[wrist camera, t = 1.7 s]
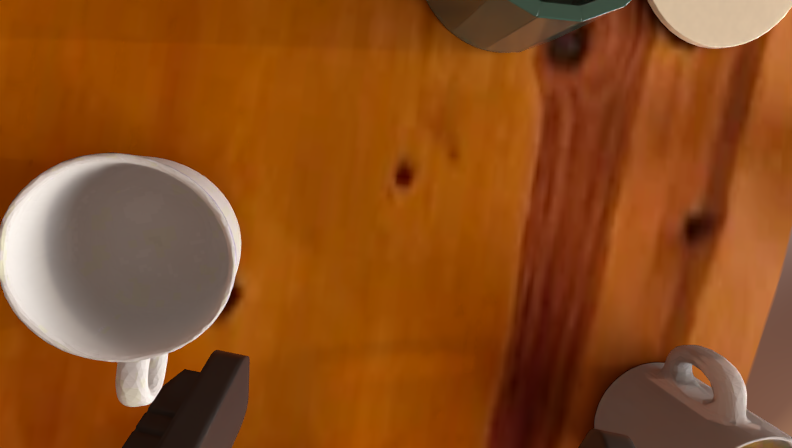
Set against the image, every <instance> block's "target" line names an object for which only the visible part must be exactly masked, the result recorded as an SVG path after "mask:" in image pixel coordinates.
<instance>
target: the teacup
mask: <svg viewBox="0 0 792 448" xmlns="http://www.w3.org/2000/svg"><path fill="white" fill-rule="evenodd" d="M240 254H241V236H240V229H239V225H238V221H237V218H236V216H235V214H234V211H233V209H232V207H231V205H230V204H229V202H228V200H227V199H226V198H225V196H224V195H223V194H222V192H221V191H220V190H219V189H218V188H217V187H216V186H215V185H214V184H213V183H212V182H211V181H209V180H208V179H207V178H206V177H204V176H203V175H201V174H200V173H198V172H196V171H195V170H193V169H191V168H189V167H187V166H185V165H182V164H179V163H177V162H174V161H170V160H166V159H162V158H156V157H148V156H137V155H130V154H121V153H101V154H92V155H85V156H80V157H76V158H73V159H70V160H67V161H64V162H61V163H60V164H58V165H56V166H54V167H52V168H50V169H48V170H47V171H45V172H43V173H42V174H40V175H38V176H37V177H36V178H35V179H33V180H32V181H31V182H30V183H29V184H28V185H27V186H26V187H25V188H23V189H22V190H21V191H20V193H19V194H18V195H17V196H16V197H15V199H14V200H13V201H12V203H11V205H10V206H9V208H8V210H7V211H6V213H5V215H4V217H3V220H2V223H1V226H0V282H1V287H2V289H3V292H4V296H5V298H6V299H7V300H8V303H9V305H10V306H11V308H12V310H13V311H14V313H15V314H16V315H17V317H18V318H19V319H20V320H21V321H22V322H23V323H24V324H25V325H26V326H27V327H28V328H29V329H30V330H31V331H32V332H34V333H35V334H36V335H37V336H39V337H40V338H41V339H43V340H44V341H46V342H47V343H49V344H51V345H53V346H55V347H57V348H58V349H60V350H62V351H65V352H68V353H70V354H73V355H77V356H81V357H85V358H90V359H94V360H101V361H109V362H118V365H117V373H116V392H117V397H118V399H119V401H120V402H121V403H122V404H123V405H125V406H129V407H137V406H144V405H148V404H150V403H152V402H153V400H154V399H155V397H156V396H157V394H158V393H159V391H160V390H161V388H162V385H163V382H164V377H165V372H166V366H167V360H168V353H170V352H173V351H175V350H177V349H179V348H182V347H183V346H185V345H186V344H188V343H189V342H191V341H193V340H195V339H196V338H197V337H199V336H200V335H201V334H202V333H203V332H204V331H206V330H207V329H208V328H209V327H210V326H211V325H212V324H213V322H214V321H215V320H216V319H217V317H218V316H219V314H220V313H221V311H222V310H223V308H224V307H225V305H226V303H227V301H228V299H229V297H230V293H231V290H232V288H233V284H234V280H235V276H236V272H237V269H238V265H239V261H240Z"/></svg>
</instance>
